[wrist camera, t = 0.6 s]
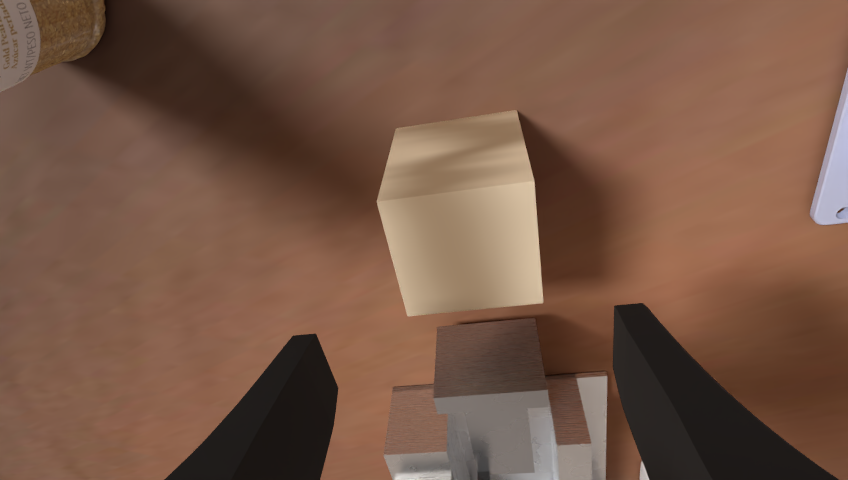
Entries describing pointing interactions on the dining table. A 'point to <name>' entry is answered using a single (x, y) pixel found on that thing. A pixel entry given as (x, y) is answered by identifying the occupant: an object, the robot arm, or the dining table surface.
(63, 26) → the sprinkles bottle
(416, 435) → the gauge housing
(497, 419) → the grey l-shaped piece
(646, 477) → the medicine bottle
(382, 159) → the dining table surface
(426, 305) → the block
